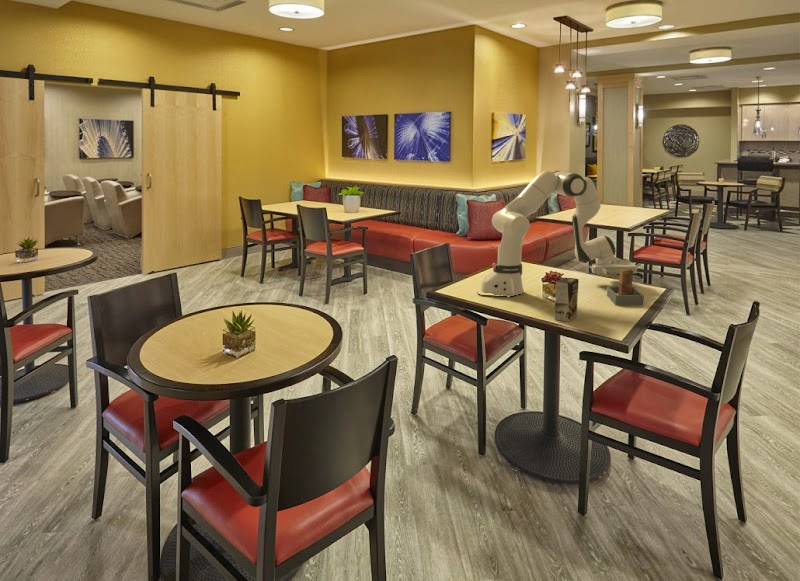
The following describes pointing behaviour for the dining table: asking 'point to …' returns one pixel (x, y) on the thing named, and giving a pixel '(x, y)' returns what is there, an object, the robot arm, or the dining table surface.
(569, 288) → the coffee box
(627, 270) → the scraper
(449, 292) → the dining table surface
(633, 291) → the tray
